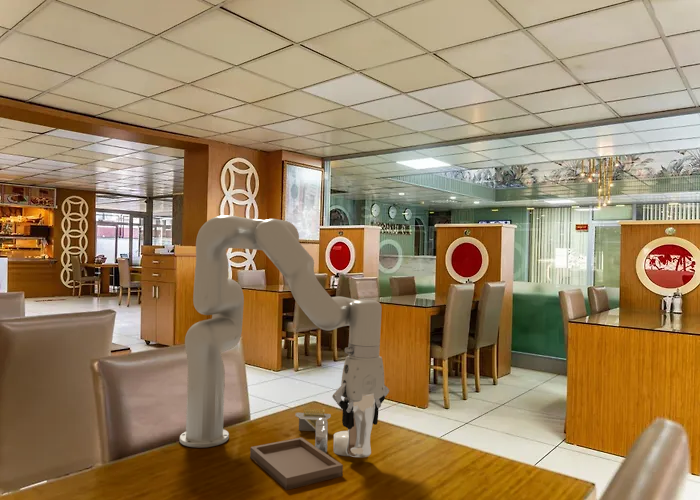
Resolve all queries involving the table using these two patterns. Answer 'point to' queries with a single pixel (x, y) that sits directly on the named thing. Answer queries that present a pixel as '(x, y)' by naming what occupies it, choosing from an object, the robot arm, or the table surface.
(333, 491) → the table surface
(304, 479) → the tray
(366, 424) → the silver metal tumbler
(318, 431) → the salt shaker
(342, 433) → the white rounded cylinder
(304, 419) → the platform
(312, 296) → the robot arm
